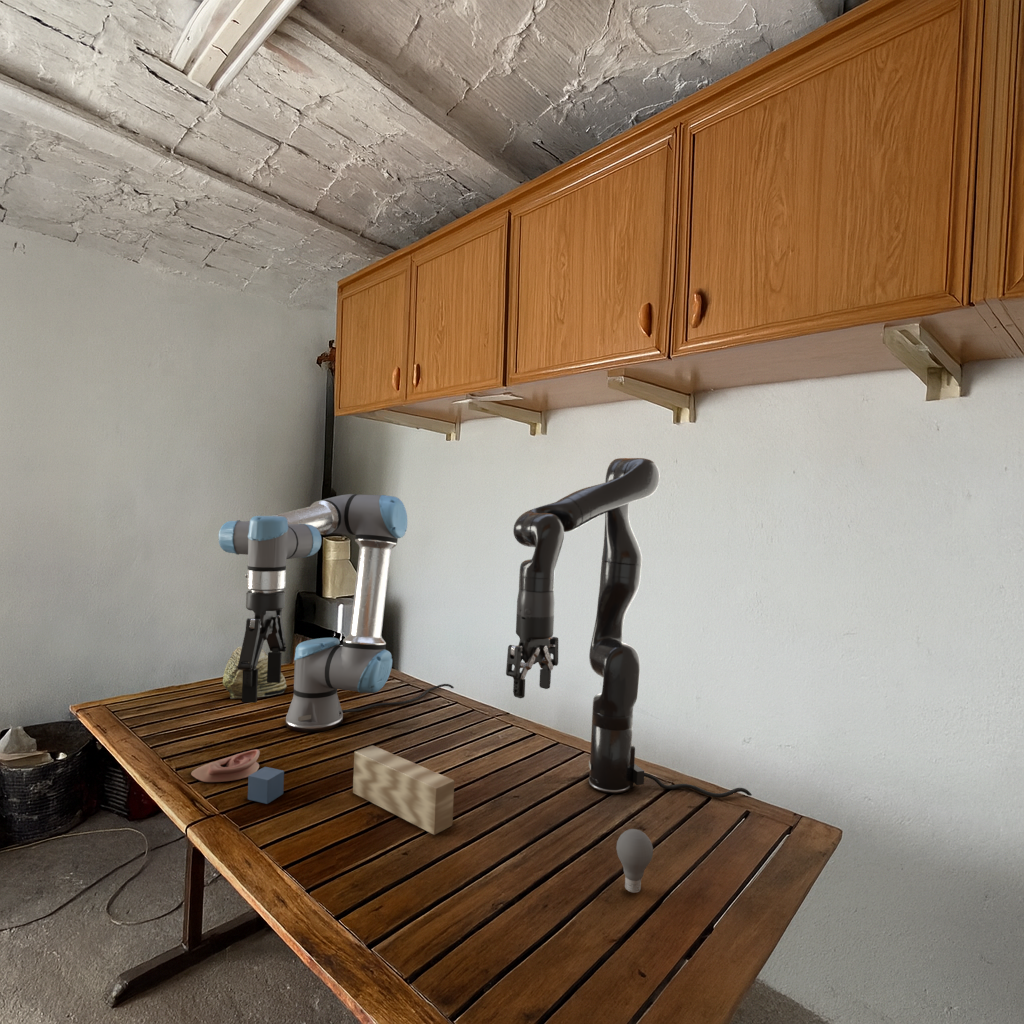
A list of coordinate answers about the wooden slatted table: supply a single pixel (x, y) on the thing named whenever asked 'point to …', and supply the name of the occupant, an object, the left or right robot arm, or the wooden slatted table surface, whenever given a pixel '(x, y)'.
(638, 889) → the light bulb
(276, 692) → the fossil
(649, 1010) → the wooden slatted table surface
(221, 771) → the anatomical model
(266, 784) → the slate blue block
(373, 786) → the ash bar
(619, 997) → the wooden slatted table surface
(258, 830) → the wooden slatted table surface
